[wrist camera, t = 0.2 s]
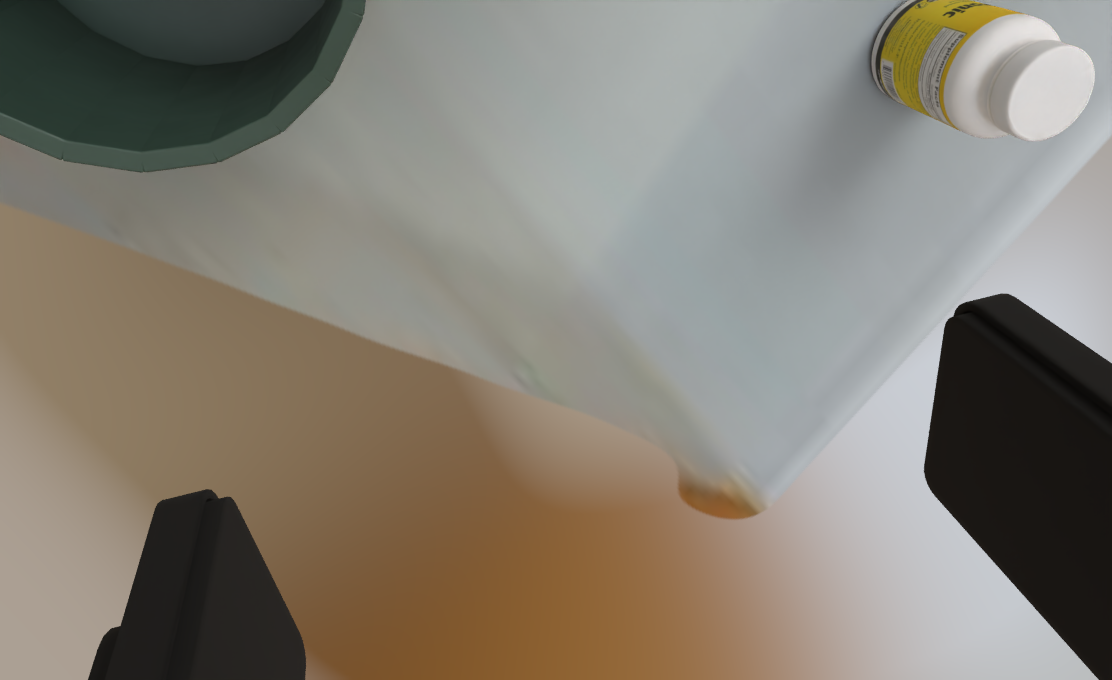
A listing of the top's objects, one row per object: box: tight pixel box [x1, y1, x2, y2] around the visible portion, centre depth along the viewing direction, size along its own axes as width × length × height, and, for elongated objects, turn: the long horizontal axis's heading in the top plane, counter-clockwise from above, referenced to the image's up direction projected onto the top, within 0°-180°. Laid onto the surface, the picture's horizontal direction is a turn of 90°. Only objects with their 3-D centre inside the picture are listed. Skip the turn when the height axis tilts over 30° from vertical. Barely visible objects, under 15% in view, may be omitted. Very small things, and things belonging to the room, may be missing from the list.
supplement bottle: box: [871, 0, 1095, 141], centre depth 38 cm, size 5×5×10 cm
